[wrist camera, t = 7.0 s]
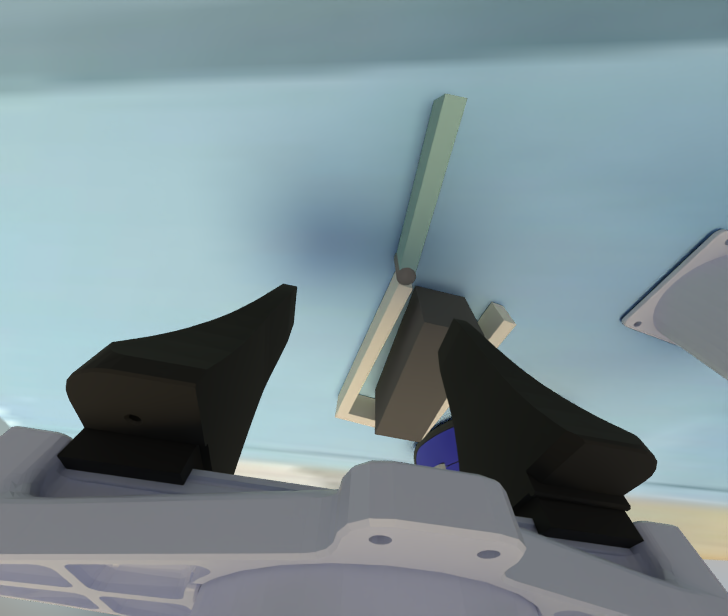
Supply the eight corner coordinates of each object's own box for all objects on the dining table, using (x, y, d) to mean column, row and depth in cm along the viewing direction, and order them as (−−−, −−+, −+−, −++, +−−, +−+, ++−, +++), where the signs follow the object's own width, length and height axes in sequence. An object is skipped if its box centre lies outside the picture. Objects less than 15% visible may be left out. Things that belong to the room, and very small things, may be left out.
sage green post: (432, 100, 15) (443, 93, 12) (454, 104, 15) (469, 98, 12) (392, 264, 20) (394, 283, 17) (408, 267, 20) (413, 286, 17)
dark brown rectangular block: (463, 296, 22) (484, 335, 17) (413, 395, 28) (420, 442, 24) (414, 284, 21) (424, 322, 17) (375, 388, 28) (374, 434, 23)
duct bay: (502, 305, 22) (516, 324, 20) (418, 417, 29) (422, 439, 27) (396, 268, 20) (398, 284, 18) (338, 395, 28) (334, 417, 26)
